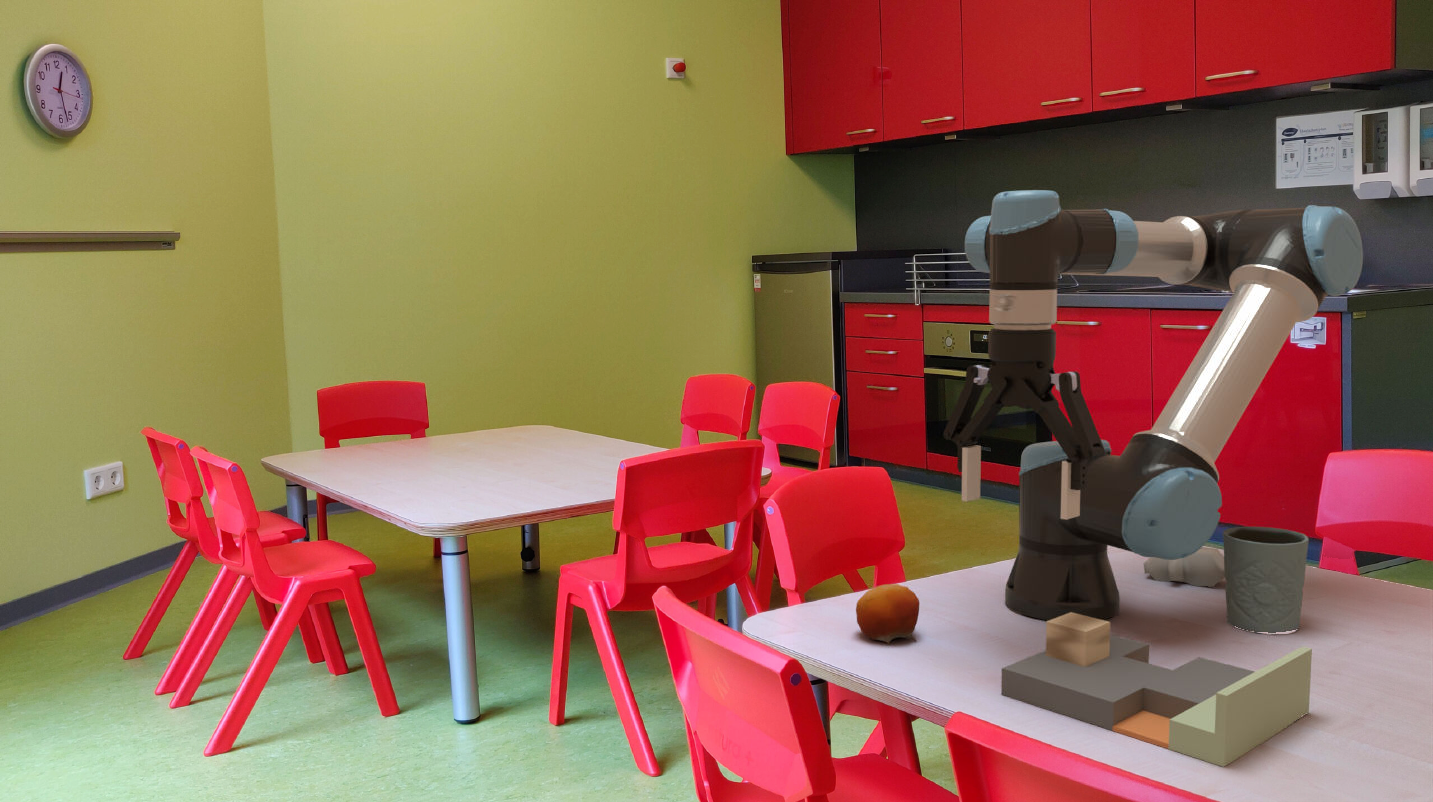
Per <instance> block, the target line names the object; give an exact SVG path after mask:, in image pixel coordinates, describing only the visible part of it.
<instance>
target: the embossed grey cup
mask: <svg viewBox="0 0 1433 802" xmlns="http://www.w3.org/2000/svg"><path fill="white" fill-rule="evenodd" d="M1222 538H1223V539H1222V540H1223V541H1222V542H1223V556H1224V570H1225V589H1224V590H1225V602H1226V620H1227V623H1228V622H1229V623H1230V624H1231V625H1233V626H1236V627H1238V628H1241V629H1244V630H1248V631H1254V632H1268V633H1276V632H1286V631H1292V630H1296V629H1298V627H1299V628H1300V626H1301V625H1300V624H1301V613H1302V607H1303V606H1302V604H1303V598H1304V597H1303V596H1304V591H1303V589H1304V586H1305V577H1306V576H1305V575H1306V569H1307V567H1306V566H1307V557H1308V549H1309V537H1308V536H1307V535H1306V534H1305V533H1302V532H1298V531H1295V530H1289V529H1285V528H1277V527H1267V526H1235V527H1231V528H1229V527H1228V528H1227V529H1225V530H1224V531H1223V532H1222ZM1229 623H1228V624H1229ZM1230 624H1229V625H1230ZM1231 625H1230V626H1231ZM1233 626H1232V627H1233ZM1241 629H1240V630H1241ZM1244 630H1243V631H1244ZM1298 630H1299V629H1298ZM1248 631H1247V632H1248Z"/></svg>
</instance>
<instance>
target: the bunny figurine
mask: <svg viewBox="0 0 1433 802" xmlns="http://www.w3.org/2000/svg"><path fill="white" fill-rule="evenodd" d="M1143 569H1144V570H1143V571H1144V574H1148V575H1150V576H1151V577H1152V578H1153V580H1155V581H1157V580H1158V582H1165V583H1169V582H1171V581H1174V582H1183V583H1186V584H1189V585H1191V586H1193V585H1194V586H1195V587H1207V586H1208V587H1207V588H1213V586H1214V587H1215V585H1216V584H1218V583H1219V582H1222V581H1223V580H1224V579H1225V570H1224V554H1223V553H1221V552H1220V550H1219V549H1218V548H1216V547H1215V548H1213V547H1205V546H1203V547H1202V548H1200V549H1199V550H1198V551H1196V552H1195V553H1193V554H1192V555H1190V556H1188V557H1185V558H1180V559H1175V560H1166V559H1161V558H1156V557H1154V558H1152V557H1148V559H1147V560H1146V561H1145V562H1143ZM1194 586H1193V587H1194Z"/></svg>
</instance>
